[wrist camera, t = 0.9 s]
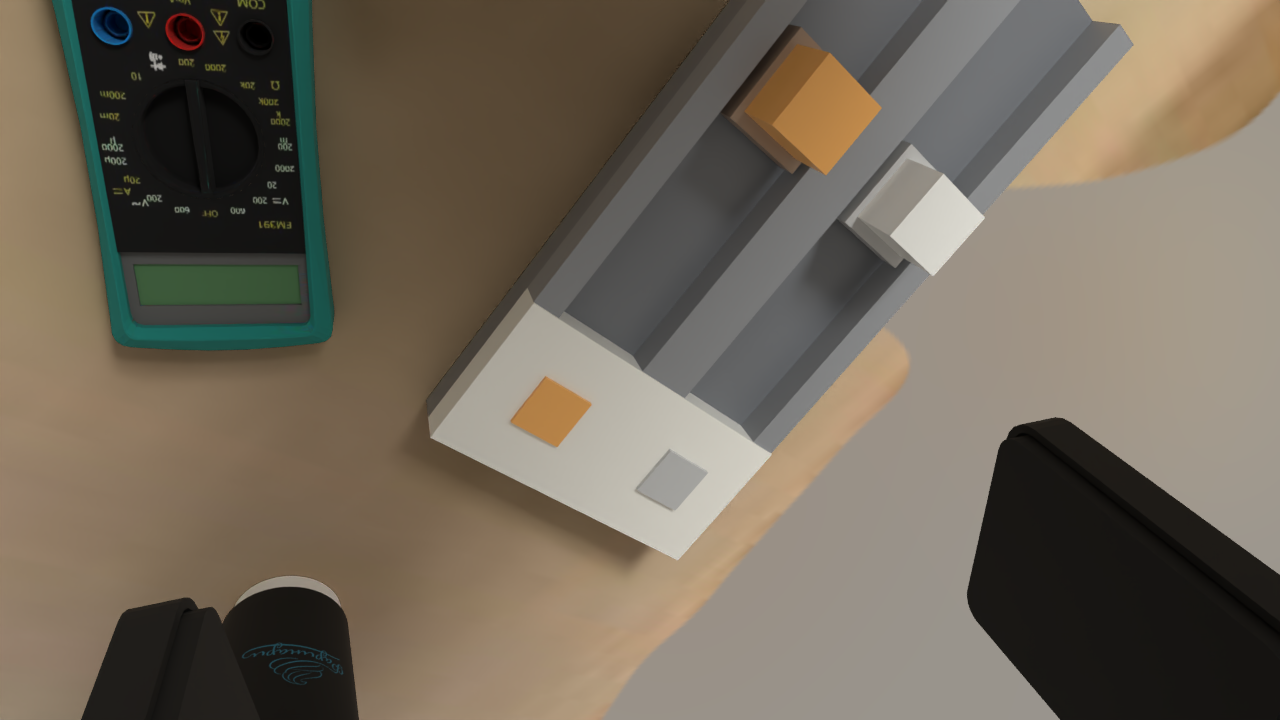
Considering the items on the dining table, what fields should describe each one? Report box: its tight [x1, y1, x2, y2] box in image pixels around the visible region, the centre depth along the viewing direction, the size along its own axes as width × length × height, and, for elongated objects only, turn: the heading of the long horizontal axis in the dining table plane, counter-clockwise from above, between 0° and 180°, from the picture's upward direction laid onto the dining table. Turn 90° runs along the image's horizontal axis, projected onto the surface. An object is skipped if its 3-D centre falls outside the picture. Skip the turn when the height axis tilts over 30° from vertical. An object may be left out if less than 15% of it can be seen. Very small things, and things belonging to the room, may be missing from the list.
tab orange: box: [720, 24, 882, 175], centre depth 30 cm, size 4×4×4 cm
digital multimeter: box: [52, 0, 334, 350], centre depth 27 cm, size 7×15×3 cm, turn 174°
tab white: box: [836, 140, 985, 276], centre depth 33 cm, size 4×4×4 cm
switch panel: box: [426, 0, 1133, 560], centre depth 34 cm, size 30×14×3 cm, turn 140°
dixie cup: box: [222, 576, 359, 720], centre depth 34 cm, size 8×8×11 cm
